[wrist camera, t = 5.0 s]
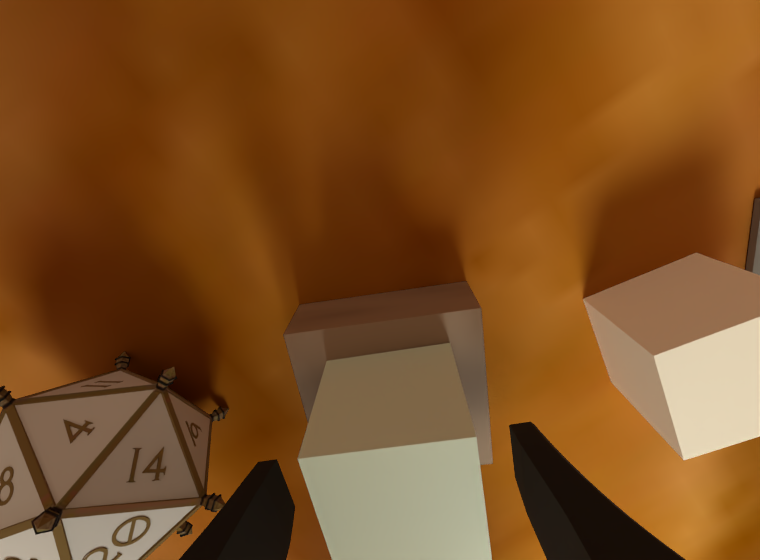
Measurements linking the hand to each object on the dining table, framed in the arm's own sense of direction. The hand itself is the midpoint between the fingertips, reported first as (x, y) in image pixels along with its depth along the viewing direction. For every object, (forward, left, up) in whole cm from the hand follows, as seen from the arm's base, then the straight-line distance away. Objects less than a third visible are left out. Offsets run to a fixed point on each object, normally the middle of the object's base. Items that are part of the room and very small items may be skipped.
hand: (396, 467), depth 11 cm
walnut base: (0, 0, -6) cm, 6 cm away
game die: (0, +11, -6) cm, 12 cm away
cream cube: (0, -11, -6) cm, 12 cm away
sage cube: (0, 0, -3) cm, 3 cm away
